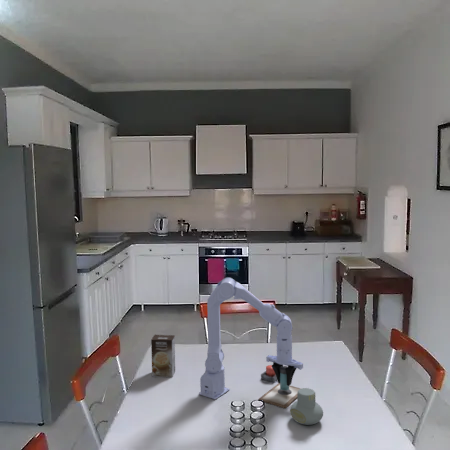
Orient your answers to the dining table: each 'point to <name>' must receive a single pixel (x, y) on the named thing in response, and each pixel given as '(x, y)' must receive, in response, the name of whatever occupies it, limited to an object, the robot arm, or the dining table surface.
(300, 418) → the air freshener
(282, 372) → the marker
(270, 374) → the button
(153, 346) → the coffee box
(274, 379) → the button collar
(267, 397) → the picture frame
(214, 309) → the robot arm
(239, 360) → the dining table surface
